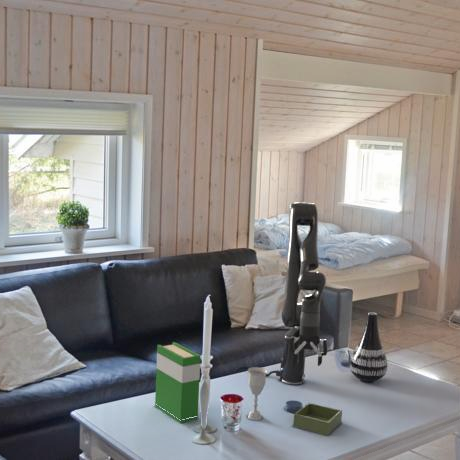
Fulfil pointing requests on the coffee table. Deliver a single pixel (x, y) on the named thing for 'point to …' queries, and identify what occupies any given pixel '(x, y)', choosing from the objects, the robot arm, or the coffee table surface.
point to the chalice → (256, 388)
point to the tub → (317, 418)
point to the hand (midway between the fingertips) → (307, 364)
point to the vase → (369, 354)
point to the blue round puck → (293, 406)
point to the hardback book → (177, 381)
